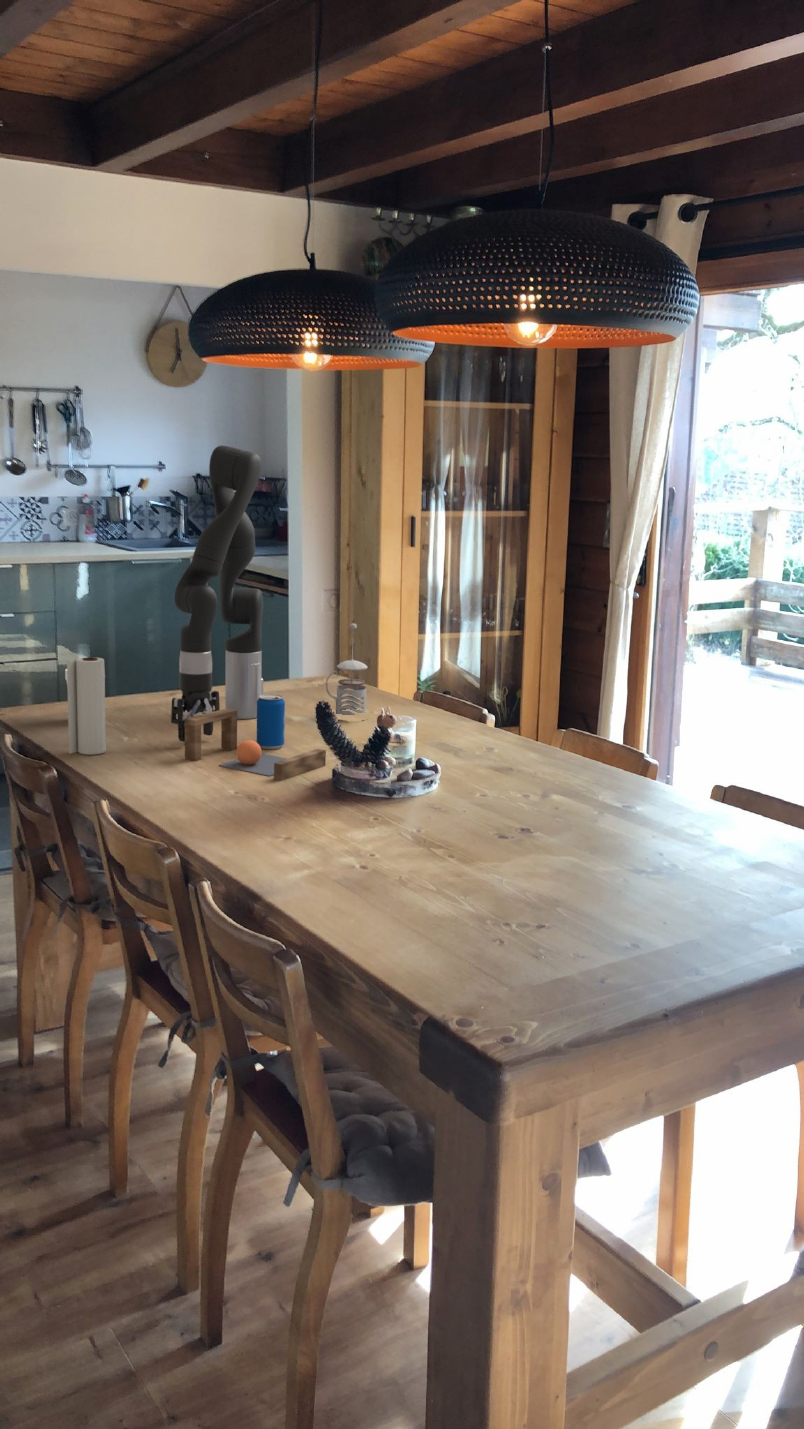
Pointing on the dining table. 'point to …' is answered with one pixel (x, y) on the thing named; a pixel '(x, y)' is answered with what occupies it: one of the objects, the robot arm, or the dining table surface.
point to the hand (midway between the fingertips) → (195, 738)
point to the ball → (249, 752)
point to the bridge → (194, 723)
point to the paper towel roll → (86, 705)
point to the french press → (352, 684)
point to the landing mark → (256, 765)
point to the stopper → (299, 764)
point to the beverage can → (270, 721)
